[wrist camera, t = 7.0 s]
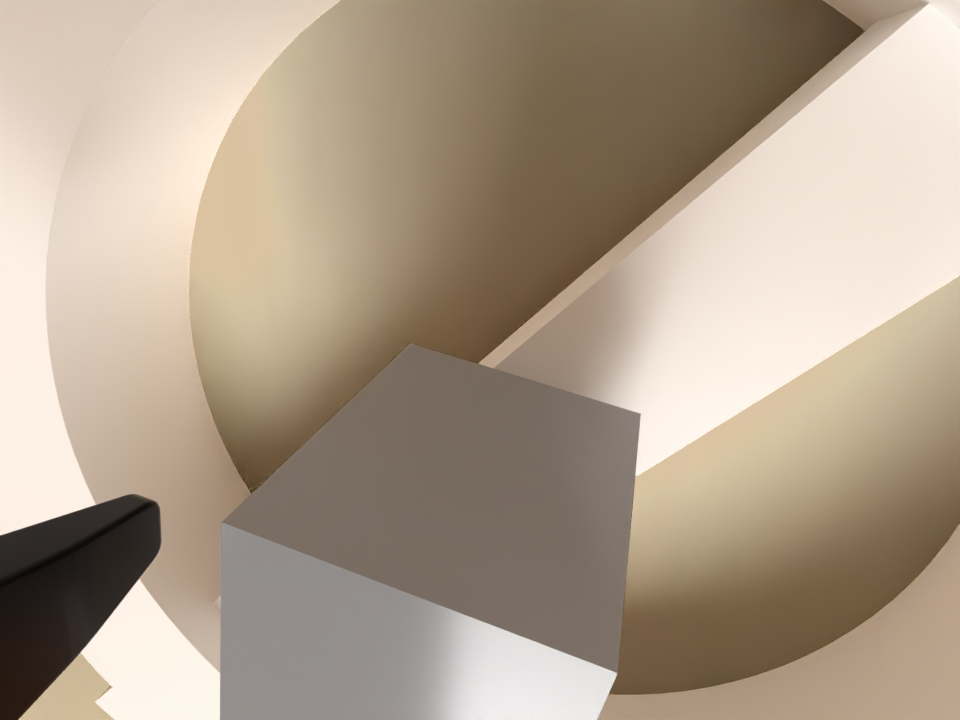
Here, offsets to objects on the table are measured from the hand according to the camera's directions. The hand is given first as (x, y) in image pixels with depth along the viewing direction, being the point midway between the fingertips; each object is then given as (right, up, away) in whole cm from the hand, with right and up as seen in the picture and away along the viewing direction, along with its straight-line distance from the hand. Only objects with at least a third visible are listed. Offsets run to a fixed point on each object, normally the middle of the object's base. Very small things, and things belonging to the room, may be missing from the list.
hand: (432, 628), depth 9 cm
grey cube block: (+1, +1, +3) cm, 3 cm away
